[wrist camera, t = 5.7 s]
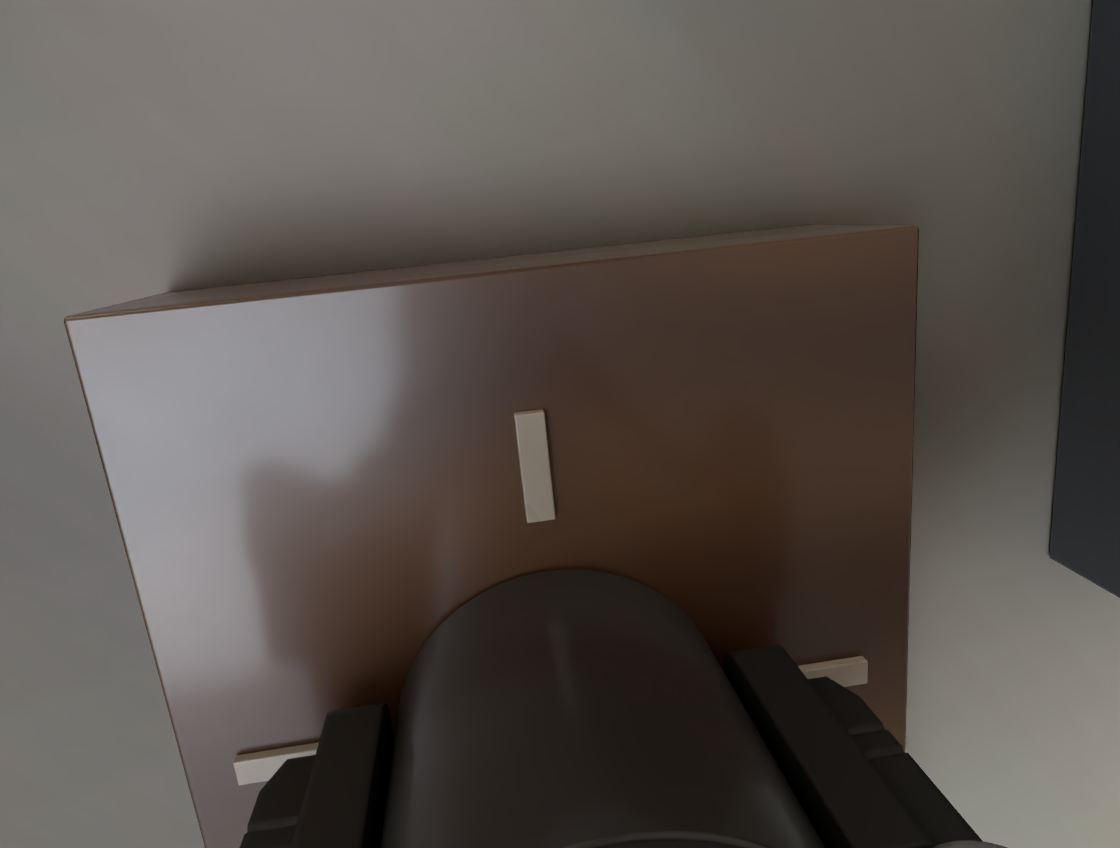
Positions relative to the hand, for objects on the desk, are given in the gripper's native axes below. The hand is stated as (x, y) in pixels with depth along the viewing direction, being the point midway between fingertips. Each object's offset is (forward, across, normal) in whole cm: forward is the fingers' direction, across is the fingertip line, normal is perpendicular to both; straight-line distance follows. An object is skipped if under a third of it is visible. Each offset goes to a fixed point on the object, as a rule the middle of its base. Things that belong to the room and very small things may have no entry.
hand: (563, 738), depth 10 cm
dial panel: (+3, 0, 0) cm, 3 cm away
